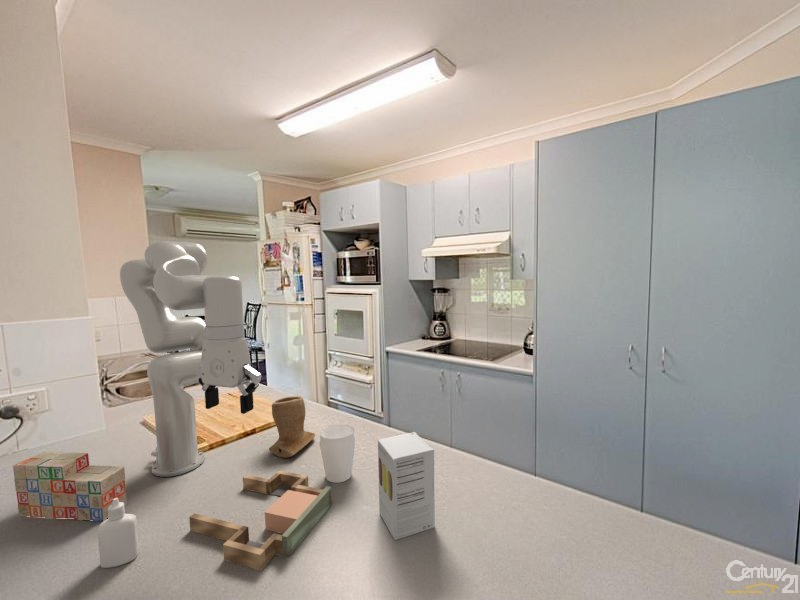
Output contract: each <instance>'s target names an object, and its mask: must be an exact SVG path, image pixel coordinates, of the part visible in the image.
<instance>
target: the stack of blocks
mask: <svg viewBox="0 0 800 600" xmlns="http://www.w3.org/2000/svg"><path fill="white" fill-rule="evenodd" d="M12 470H13V471H12V472H13V476H14V479H13V480H14V487H15V492H16V499H17V512H18V516H30V517H29V518H31V517H45V518H74V519H79V520H78V521H82V520H93V521H92V522H98V521H104V520H106V519H107V518H108V507H109V506H111V505H112V503H113V499H114V498H118V500H119V502H123V503H124V507H125V506H127V505H128V504H127V489H126V487H127V486H126V473H125V466H114V465H113V466H112V465H90V461H89V453H88V452H57V451H56V452H55V451H54V452H52V451H42V452H40V453H37V454H35V455H32V456H30V457H29V458H26V459H24V460H22V461H20V462H18V463H15V464H14V465H12Z"/></svg>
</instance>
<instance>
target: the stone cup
mask: <svg viewBox="0 0 800 600" xmlns="http://www.w3.org/2000/svg"><path fill="white" fill-rule="evenodd" d="M271 415H272V416H271V417H272V419H273V421H274V423H275V426H276V429H277V432H278V439H277V440H276V442H274V443H273V444H272V445H271V446H270V447H269V448H268V450H269V452H271V453H272V454H273V455H276V456H277V457H280V458H282V459H283V458H284V459H285V458H290V457H293V456H294V455H296V454H298V452H300V451H301V450H302V449H303V448H305V446H307V445H308V444H310V442H311V441H312V440H314V438H315V437H316V433H314V432H311V431H306V430H305V429H304V426H305V419H306V405H305V400H304V398H303V397H302V396H300V395H296V396H295V395H294V396H293V395H292V396H286V397H281V398H278V399H275V400H274V401H273V402H272V404H271Z"/></svg>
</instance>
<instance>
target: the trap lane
mask: <svg viewBox="0 0 800 600" xmlns="http://www.w3.org/2000/svg"><path fill="white" fill-rule="evenodd" d="M242 483H243V484H242V486H243V490H246V491H247V490H248V491H251V492H256V493H261V494H266V495H271V496H275V497H279V498H280V497H281V496H282V495H283V494H284V493H285V492H286V491H287V490H291V491H296V492H301V493H307V494H312V495H317V497H316V499H315V500H314V501H313V502H312V503H311V504H310V505H309V506H308V507H307V509H306V510H305V511H304V512H303V513H302V514H301V515H300V516H299V517H298V518H297V520H296V521H295V522H294V523H293V524H292V525H291V526H290V527H289V528H288V530H287V531H286V532H285V533H282V534H279V533H273V534H272V535H270V537H268V538H267V540H266V541H265V542H264V543H260V542H256V541H253V540H250V535H249V534H250V533H249V526H246V525H243V524H238V523H233V522H230V521H226V520H222V519H218V518H215V517H209V516H206V515H202V514H198V513H193V514H192V515H190V516H189V518H188V519H189V530H190V532H192V533H197V534H200V535H204V536H208V537H211V538H215V539H219V540H222V541H225V542H224V543H223V545H222V549H223V552H222V553H223V561H227V562H230V563H234V564H237V565H241V566H243V567H247V568H251V569H254V570H258V571H263V569H265V567H266V566H267V564H268V563H269V562H270V561H271V560H272V559H273V558H274V557H275V555H278V556H280V557H281V556H282V557H285V558H289V557H290V556H291V555H292V554H293V553H294V551H295V550H296V549H297V547H298V546H299V545H300V544H301V542H303V540H304V539H305V538H306V536H307V535H308V534H309V533H310V531H312V529H313V527H314V526H315V525H316V524H317V523H318V522H319V520H321V518H322V517H323V515H325V513H327V512H326V511H328V509H329V508H330V507H331V505H332V504H333V499H332V498H333V497H332V495H333V493H332V486H328V485H326V486H325V487H324V489H322V488H315V487H312V486H309V476H308V475H305V474H301V473H294V472H290V471H284V470H279V471H277V472H275V474H273V475H272V476H271V477H270V478H265V477H260V476H254V475H249V474H245V475H244V476H243V477H242Z"/></svg>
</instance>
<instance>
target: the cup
mask: <svg viewBox="0 0 800 600" xmlns="http://www.w3.org/2000/svg"><path fill="white" fill-rule="evenodd" d="M355 445H356V437H355V428H354V427H353V426H352V425H349V424H339V423H337V424H331V425H329V426H325V427H324V428H322V429H321V430H320V434H319V447H320V448H319V449H320V452H321V459H322V463H323V469H324V474H325V479H326V480H327V481H328V482H331V483H335V484H336V483H337V484H338V483H342V482H345V481H348V480H349V479H350V478H351V477H352V475H353V465H354V456H355V448H356V447H355Z"/></svg>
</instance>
